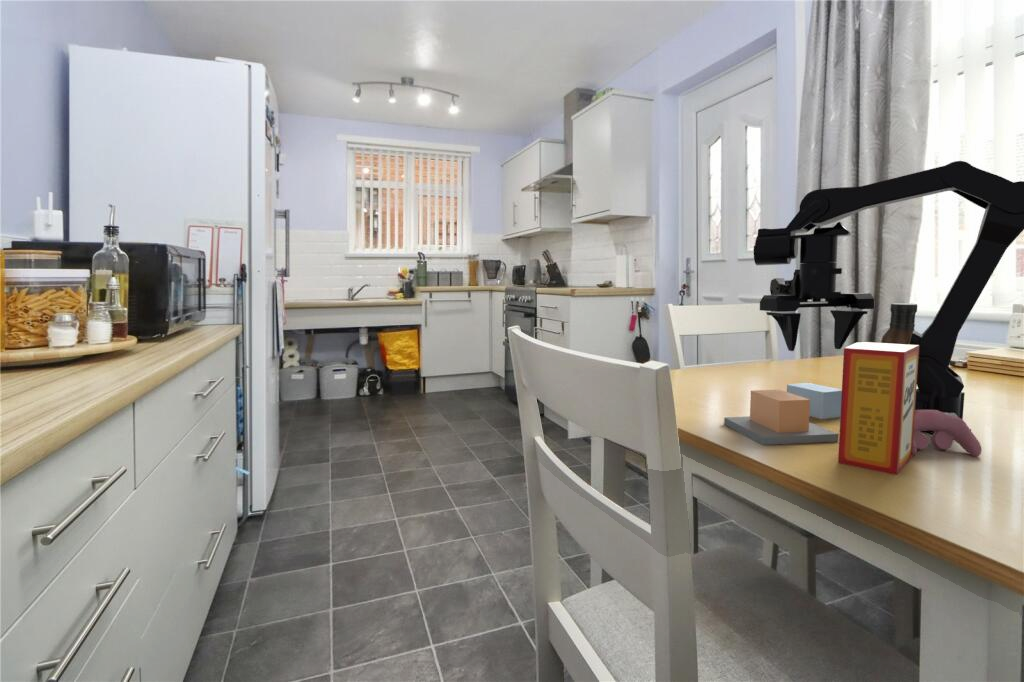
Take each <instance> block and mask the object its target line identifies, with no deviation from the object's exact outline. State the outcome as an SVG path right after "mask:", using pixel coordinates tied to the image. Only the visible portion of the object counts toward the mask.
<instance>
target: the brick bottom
mask: <svg viewBox="0 0 1024 682" xmlns="http://www.w3.org/2000/svg"><path fill="white" fill-rule="evenodd" d="M749 403H750V405H749V416H750V420H752V421H754V422H756V423H758V424H761V425H763V426H765V427H767V428H769V429H772V430H774V431H776V432H778V433H781V432H802V431H809V422H810V416H809V413H810V399H807V398H804V397H800V396H797V395H794V394H791V393H788V392H787V391H784V390H782V389H759V390H756V389H755V390H750V401H749Z"/></svg>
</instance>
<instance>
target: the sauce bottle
mask: <svg viewBox="0 0 1024 682" xmlns="http://www.w3.org/2000/svg"><path fill="white" fill-rule="evenodd" d="M917 312H918V304H917V303H913V302H912V303H910V302H909V303H907V302H906V303H904V302H903V303H902V302H901V303H900V302H897V303H896V302H894V303H891V304H890V323H889V328H888V329H887V330H886V332H885V333H884V334H883V335H882V337H881V341H880V343H891V344H909V342H910V338H911V335H912V332H913V331H916V330H915V325H916V323H915V321H916V313H917Z"/></svg>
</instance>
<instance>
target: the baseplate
mask: <svg viewBox="0 0 1024 682" xmlns="http://www.w3.org/2000/svg"><path fill="white" fill-rule="evenodd" d="M723 419H724V420H723V425H725V426H726V427H729V428H730V429H732V430H734V431H736V432H738V433H739V434H742V435H744V436H746V437H747V438H749V439H751V440H753V441H755V442H757V443H759V444H761V445H762V446H771V445H793V444H796V445H797V444H810V443H811V444H815V443H818V444H819V443H833V442H834V443H837V442H838V443H839V436H840V433H837V432H835V431H832V430H830V429H827V428H825V427H823V426H819V425H817V424H814V423H813V422H810V421H809V431H802V432H781V433H778V432H776V431H774V430H772V429H769V428H767V427H765V426H763V425H761V424H758V423H756V422H754V421H752V420H750V415H748V416H731V417H729V416H728V417H724V418H723Z"/></svg>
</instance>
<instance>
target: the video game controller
mask: <svg viewBox="0 0 1024 682" xmlns="http://www.w3.org/2000/svg"><path fill="white" fill-rule="evenodd" d="M970 429H971V428H970V427H969V426H968V424H967V423H966V422H965V421H964V419H963V420H962V419H961V418H959V417H958V416H957V415H956V414H955V413H944V412H940V411H938V410H915V418H914V433H913V448H912V457H914V456H915V455H916V453H917V451H920V450H923V449H927V447H928V446H929V439H928V437H927V436H926V435H925V434H924V433H923V432H924V431H923V430H929V431H934V434H933V433H932V435H931V437H930V443H931V445H932V447H933V448H934V449H936V450H937V451H946V450H949V449H950V448H951V447H952V445H953V442H956V443H957V444H959V446H960V447H961V448H962V449H963V450H964V451H965V452H966V453H968V454H969V455H971V456H973V457H975V458H977V457H980V456H981V454H982V446H981V442H980V441H979V439H978V438H977V437H976V435H975V434H974V433H973V432H972V429H971V430H970ZM921 431H922V432H921Z"/></svg>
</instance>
